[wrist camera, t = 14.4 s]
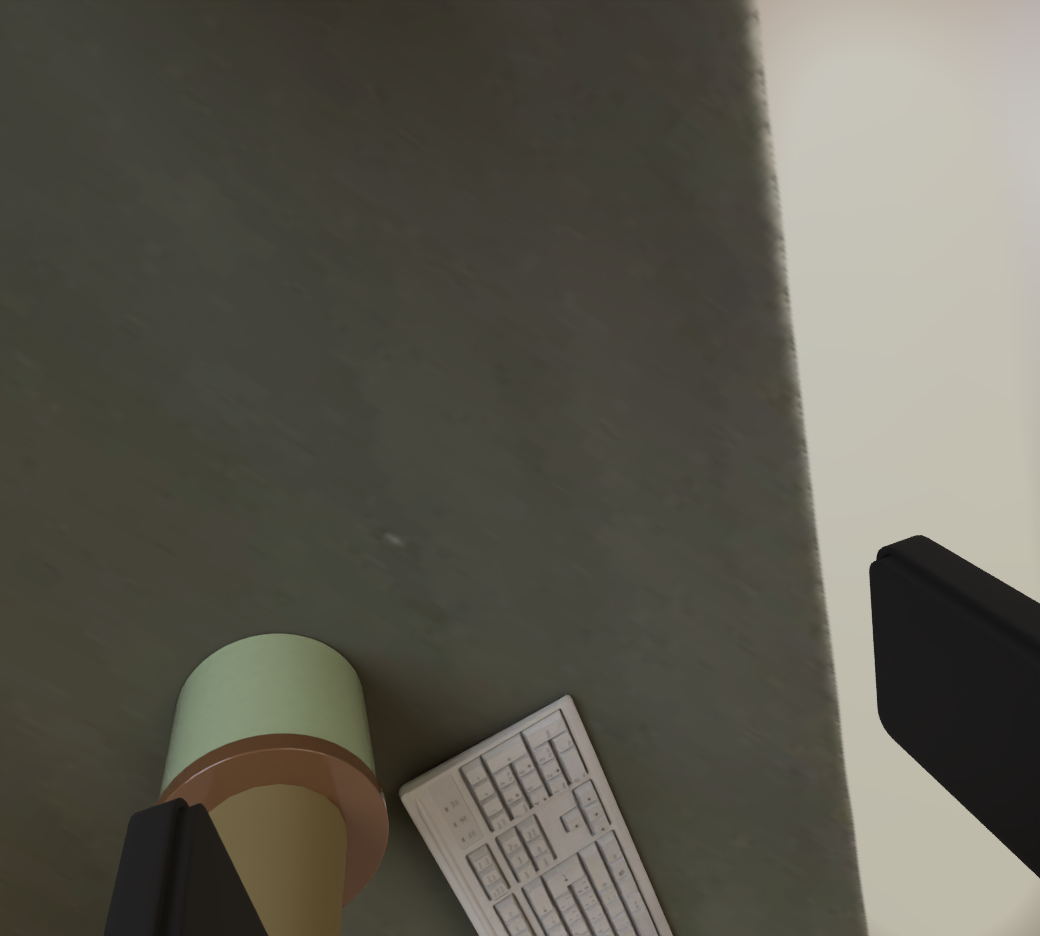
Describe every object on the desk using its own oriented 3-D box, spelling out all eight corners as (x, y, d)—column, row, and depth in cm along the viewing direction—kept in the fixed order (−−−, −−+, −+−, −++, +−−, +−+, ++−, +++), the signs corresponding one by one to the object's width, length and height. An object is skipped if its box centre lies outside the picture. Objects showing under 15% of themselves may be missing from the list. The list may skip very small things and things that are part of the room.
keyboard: (701, 1003, 58) (714, 1030, 56) (566, 1076, 57) (575, 1106, 55) (567, 690, 46) (579, 712, 44) (394, 775, 45) (398, 801, 43)
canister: (126, 720, 40) (87, 865, 32) (276, 592, 40) (276, 705, 32) (269, 821, 44) (266, 972, 36) (406, 705, 44) (435, 831, 36)
